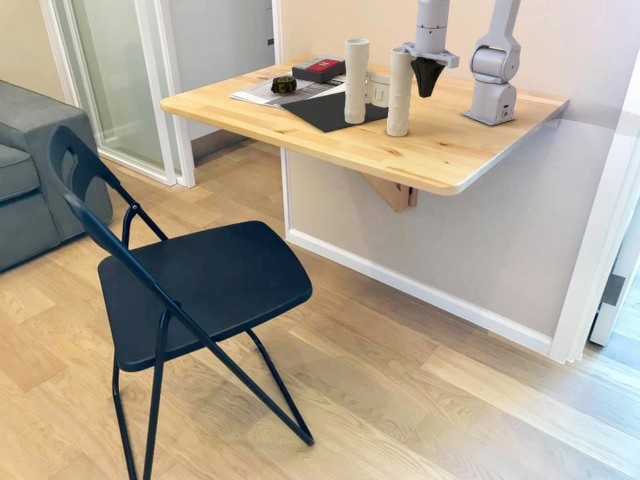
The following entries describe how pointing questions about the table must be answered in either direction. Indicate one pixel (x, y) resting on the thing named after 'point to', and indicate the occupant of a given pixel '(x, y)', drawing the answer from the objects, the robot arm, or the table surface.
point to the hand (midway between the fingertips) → (425, 96)
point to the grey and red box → (319, 68)
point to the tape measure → (284, 84)
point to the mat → (331, 111)
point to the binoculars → (378, 86)
